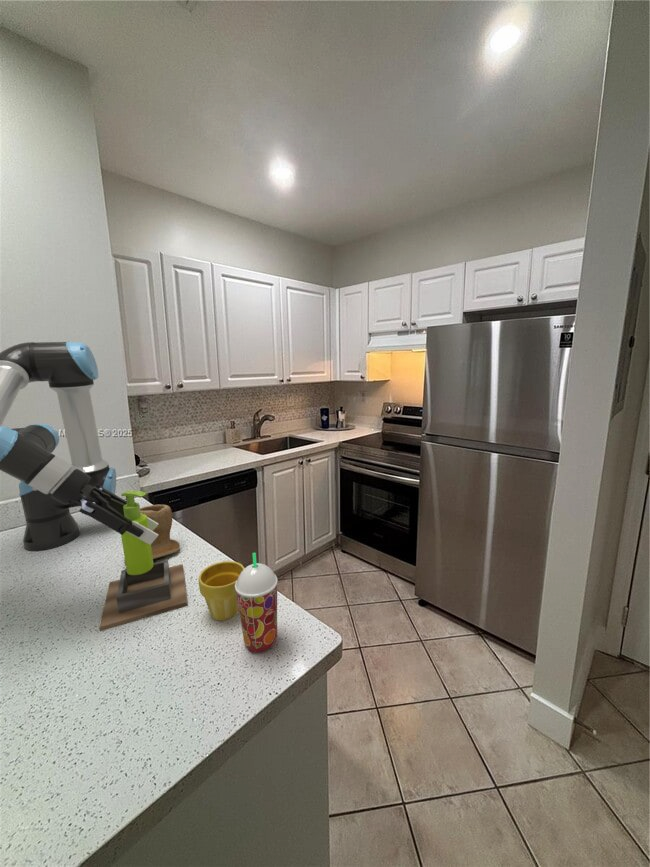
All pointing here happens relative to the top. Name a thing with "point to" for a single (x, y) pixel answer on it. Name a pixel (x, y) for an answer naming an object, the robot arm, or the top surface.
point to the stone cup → (161, 530)
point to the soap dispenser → (134, 548)
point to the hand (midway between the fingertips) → (154, 533)
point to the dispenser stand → (144, 595)
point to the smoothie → (257, 605)
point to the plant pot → (220, 588)
